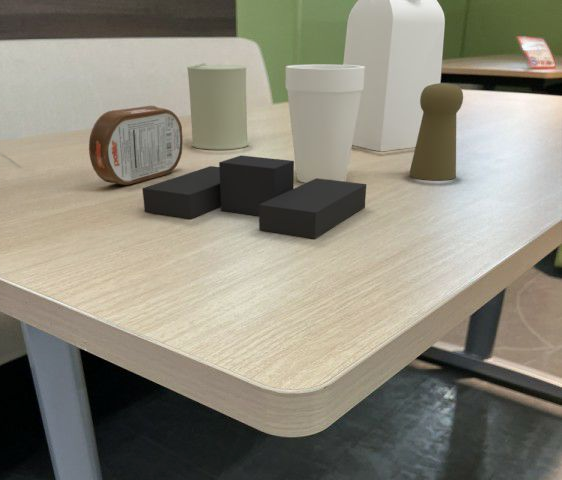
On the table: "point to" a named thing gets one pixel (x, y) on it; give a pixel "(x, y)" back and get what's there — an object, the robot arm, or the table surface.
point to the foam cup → (323, 117)
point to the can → (218, 106)
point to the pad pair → (272, 214)
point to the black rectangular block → (253, 182)
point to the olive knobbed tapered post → (437, 133)
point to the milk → (393, 67)
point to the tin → (135, 144)
